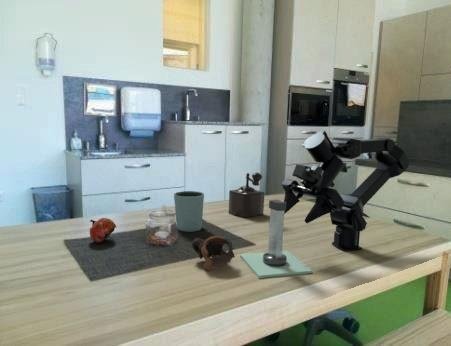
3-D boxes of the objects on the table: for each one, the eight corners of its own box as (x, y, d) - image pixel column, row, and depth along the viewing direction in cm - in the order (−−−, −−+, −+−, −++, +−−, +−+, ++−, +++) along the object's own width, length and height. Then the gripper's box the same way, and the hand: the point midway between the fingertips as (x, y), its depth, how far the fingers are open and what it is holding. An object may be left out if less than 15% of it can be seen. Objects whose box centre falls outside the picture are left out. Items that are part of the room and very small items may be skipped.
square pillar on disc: (276, 256, 96) (279, 198, 94) (291, 264, 91) (294, 202, 89) (258, 260, 93) (261, 200, 91) (272, 268, 88) (276, 204, 86)
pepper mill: (226, 213, 144) (227, 169, 141) (245, 209, 151) (246, 167, 149) (255, 221, 133) (257, 173, 130) (274, 217, 140) (276, 171, 138)
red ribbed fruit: (118, 245, 110) (96, 223, 111) (128, 229, 107) (106, 207, 108) (101, 255, 103) (78, 232, 105) (112, 239, 100) (88, 215, 102)
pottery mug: (238, 260, 95) (241, 240, 90) (222, 288, 89) (225, 267, 83) (198, 243, 99) (199, 223, 94) (180, 268, 92) (181, 247, 87)
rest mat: (287, 252, 101) (287, 250, 101) (312, 272, 88) (312, 270, 87) (240, 256, 97) (240, 254, 97) (258, 278, 84) (258, 275, 84)
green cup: (207, 231, 119) (208, 195, 118) (177, 233, 116) (178, 197, 114) (198, 223, 129) (198, 190, 127) (170, 225, 125) (170, 191, 123)
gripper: (287, 150, 102) (255, 192, 98) (339, 157, 86) (303, 207, 82) (306, 176, 107) (276, 216, 103) (358, 186, 92) (325, 234, 88)
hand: (293, 217), depth 94 cm, fingers open, 9 cm apart
